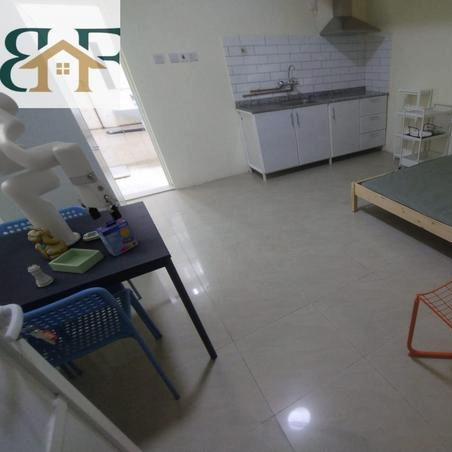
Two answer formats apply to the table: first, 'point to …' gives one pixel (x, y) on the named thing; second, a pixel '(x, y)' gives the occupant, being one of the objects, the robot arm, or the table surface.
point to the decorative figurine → (47, 242)
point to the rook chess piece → (40, 276)
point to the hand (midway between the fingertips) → (108, 218)
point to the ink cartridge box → (117, 236)
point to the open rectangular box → (76, 260)
